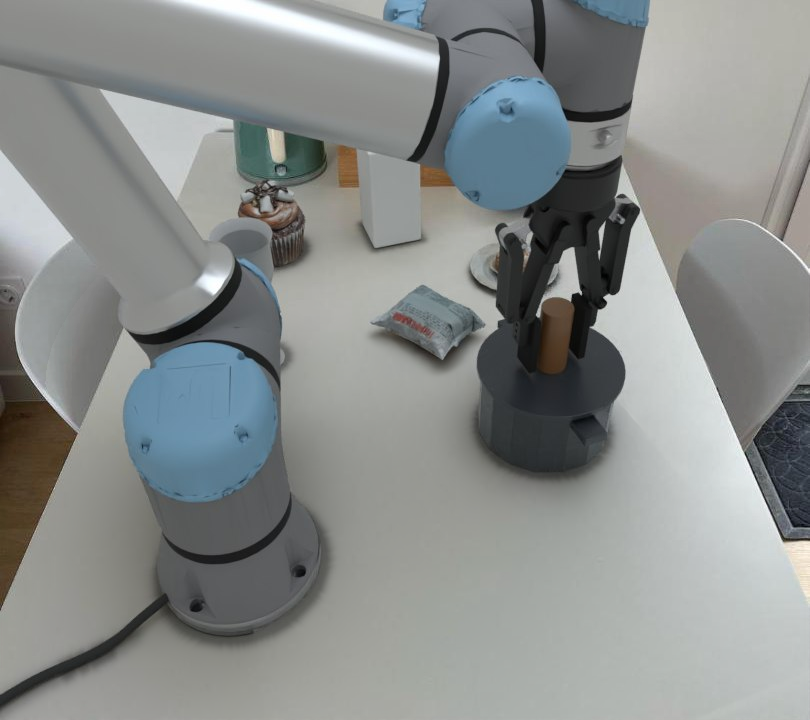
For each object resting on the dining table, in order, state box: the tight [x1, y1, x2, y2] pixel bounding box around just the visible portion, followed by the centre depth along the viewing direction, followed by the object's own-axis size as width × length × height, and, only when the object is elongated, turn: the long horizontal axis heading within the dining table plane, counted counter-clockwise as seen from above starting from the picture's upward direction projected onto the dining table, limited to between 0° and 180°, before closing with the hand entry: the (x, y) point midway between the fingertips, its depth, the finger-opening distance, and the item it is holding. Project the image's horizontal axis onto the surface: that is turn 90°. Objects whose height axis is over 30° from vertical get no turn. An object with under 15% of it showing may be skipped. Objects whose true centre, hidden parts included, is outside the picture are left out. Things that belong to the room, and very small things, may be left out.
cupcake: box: [237, 178, 307, 267], centre depth 113 cm, size 10×10×10 cm
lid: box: [476, 296, 627, 421], centre depth 82 cm, size 15×15×9 cm
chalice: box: [208, 217, 286, 367], centre depth 94 cm, size 7×7×18 cm
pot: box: [477, 318, 615, 473], centre depth 87 cm, size 14×19×9 cm
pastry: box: [469, 242, 559, 291], centre depth 110 cm, size 12×12×5 cm
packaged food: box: [369, 284, 487, 361], centre depth 100 cm, size 9×12×5 cm
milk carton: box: [355, 149, 422, 249], centre depth 113 cm, size 7×7×19 cm
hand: (550, 356), depth 83 cm, fingers open, 5 cm apart
